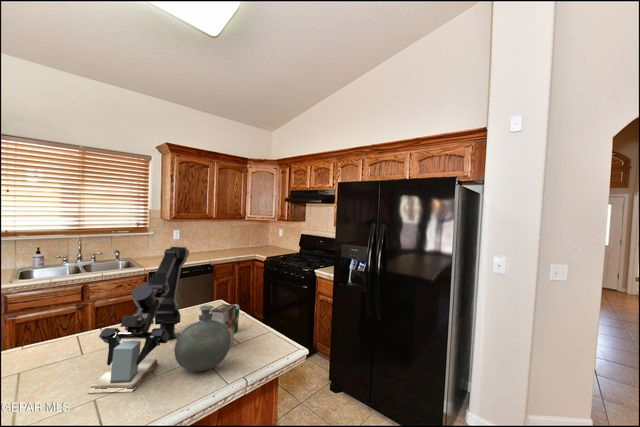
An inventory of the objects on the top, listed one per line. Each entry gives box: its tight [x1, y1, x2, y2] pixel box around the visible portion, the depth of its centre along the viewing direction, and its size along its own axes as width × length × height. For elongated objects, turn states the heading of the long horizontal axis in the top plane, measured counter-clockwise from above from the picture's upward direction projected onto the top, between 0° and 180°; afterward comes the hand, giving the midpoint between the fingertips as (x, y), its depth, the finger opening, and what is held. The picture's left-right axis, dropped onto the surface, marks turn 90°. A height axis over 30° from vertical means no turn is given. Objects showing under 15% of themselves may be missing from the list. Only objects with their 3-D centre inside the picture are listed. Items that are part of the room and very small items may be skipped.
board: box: [89, 358, 159, 389], centre depth 82 cm, size 16×12×2 cm
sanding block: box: [110, 340, 141, 383], centre depth 79 cm, size 5×5×10 cm
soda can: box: [234, 304, 241, 334], centre depth 121 cm, size 5×5×12 cm
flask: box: [174, 304, 232, 372], centre depth 89 cm, size 12×17×22 cm
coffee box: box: [210, 303, 237, 346], centre depth 106 cm, size 9×6×16 cm
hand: (122, 364), depth 77 cm, fingers open, 8 cm apart
